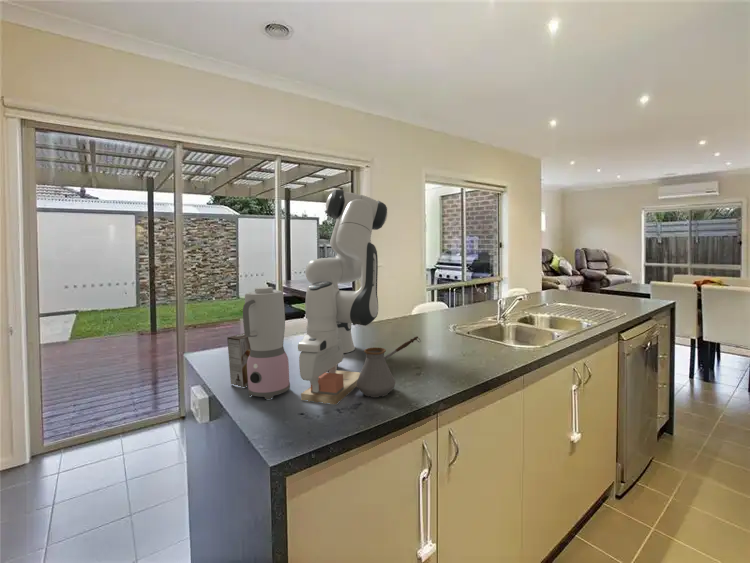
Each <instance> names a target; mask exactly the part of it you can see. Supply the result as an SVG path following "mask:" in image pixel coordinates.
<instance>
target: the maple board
mask: <svg viewBox="0 0 750 563" xmlns="http://www.w3.org/2000/svg"><path fill="white" fill-rule="evenodd" d="M360 373H361V371H359V372H358V371H347V370H336V374H343V385H344V389H343V390H342V391H341V392H340V393H338V394H337V395H328V394H319V393H311V386H310V387H308V388H306V390H304V391H303V392H301V393H300V400H301V401H302V400H308V401H307V402H310V401H314V402H313V403H318V402H323V403H322V404H326V403H330V404H329V405H335V404H336V405H338V404H339V403H340V402H341V401H342V400H344V398H345V397H347V396H348V395H350V394H351V392H352V391H353V390H354V389H356V388H358V387H357V381H358V378H359V375H360ZM339 401H340V402H339ZM338 402H339V403H338ZM337 403H338V404H337Z"/></svg>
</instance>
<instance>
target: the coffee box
mask: <svg viewBox="0 0 750 563" xmlns="http://www.w3.org/2000/svg"><path fill="white" fill-rule="evenodd" d="M227 351H228V352H227V353H228V363H229V365H228V366H229V376H230V385H231V384H234V385H238V386H241V387H246V386H248V376H247V360H248V357H249V355H250V351H251V348H250V343H249V339H248V337H247V336H246V335H245V333H244V332H242V333H240V334H239V333H238V334H236V335H231V336H228V337H227Z"/></svg>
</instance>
